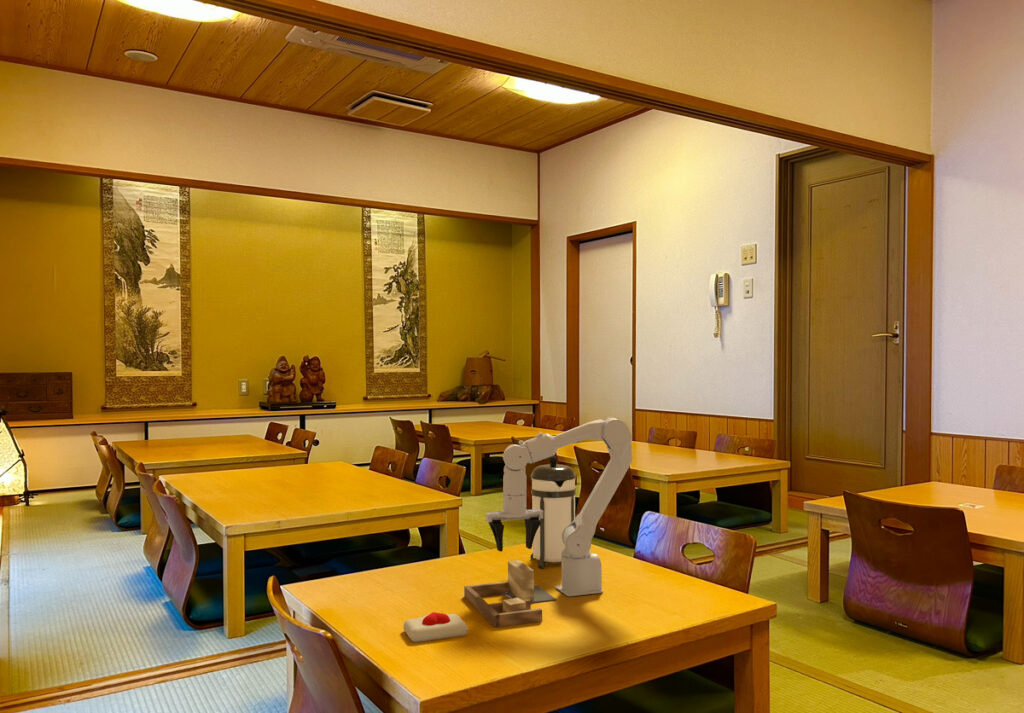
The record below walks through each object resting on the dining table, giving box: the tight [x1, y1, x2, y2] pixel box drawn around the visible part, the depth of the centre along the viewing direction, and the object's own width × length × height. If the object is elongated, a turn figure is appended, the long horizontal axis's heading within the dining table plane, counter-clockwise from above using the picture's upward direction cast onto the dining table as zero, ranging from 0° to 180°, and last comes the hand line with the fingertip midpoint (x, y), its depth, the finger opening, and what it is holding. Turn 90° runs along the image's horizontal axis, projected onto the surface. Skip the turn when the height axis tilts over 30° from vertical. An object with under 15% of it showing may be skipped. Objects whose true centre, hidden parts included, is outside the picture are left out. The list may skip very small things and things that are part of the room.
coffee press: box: [529, 455, 577, 569], centre depth 217 cm, size 17×16×30 cm
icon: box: [402, 611, 469, 643], centre depth 161 cm, size 12×4×10 cm
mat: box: [506, 584, 557, 604], centre depth 186 cm, size 9×12×1 cm
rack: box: [463, 581, 543, 628], centre depth 176 cm, size 11×23×2 cm, turn 20°
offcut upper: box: [502, 598, 526, 612], centre depth 170 cm, size 4×4×2 cm
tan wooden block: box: [507, 559, 535, 600], centre depth 185 cm, size 3×10×7 cm, turn 20°
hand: (514, 549), depth 189 cm, fingers open, 7 cm apart
